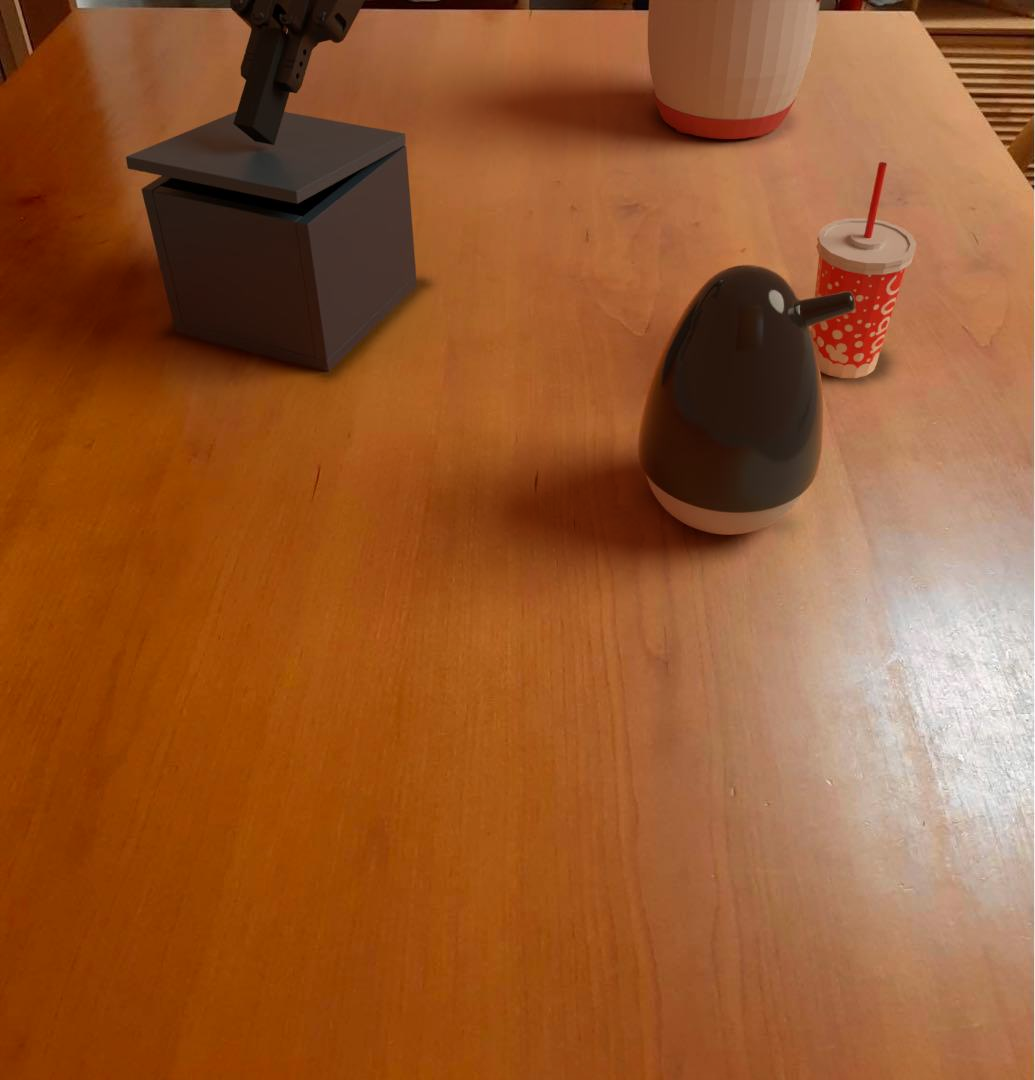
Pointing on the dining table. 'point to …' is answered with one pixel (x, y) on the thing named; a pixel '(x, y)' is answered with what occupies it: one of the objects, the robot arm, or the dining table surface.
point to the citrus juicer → (729, 62)
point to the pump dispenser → (737, 403)
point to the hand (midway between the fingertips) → (254, 134)
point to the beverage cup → (859, 287)
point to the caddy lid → (269, 156)
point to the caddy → (286, 262)
